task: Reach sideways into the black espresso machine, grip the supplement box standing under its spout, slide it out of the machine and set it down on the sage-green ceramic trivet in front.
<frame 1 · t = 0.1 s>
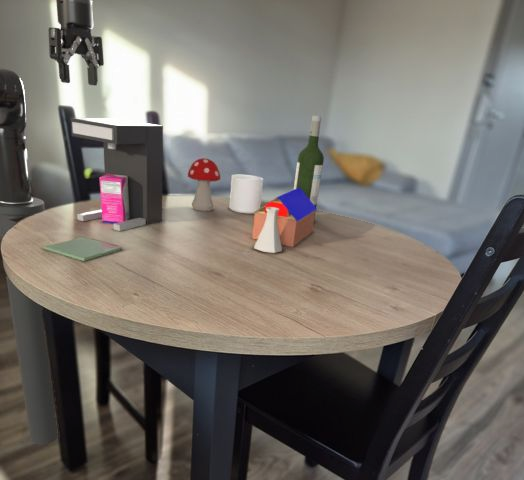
hand: (79, 84, 115), 31 cm above the table, tool pointing down, fingers open, 8 cm apart
espresso machine: (117, 221, 128), on the table
decorative mushroom: (202, 209, 151), on the table
house: (283, 235, 134), on the table
mug: (245, 209, 158), on the table
supplement box: (116, 222, 127), resting in espresso machine
flask: (267, 250, 120), on the table
trivet: (83, 249, 104), on the table
wine bottle: (301, 220, 154), on the table
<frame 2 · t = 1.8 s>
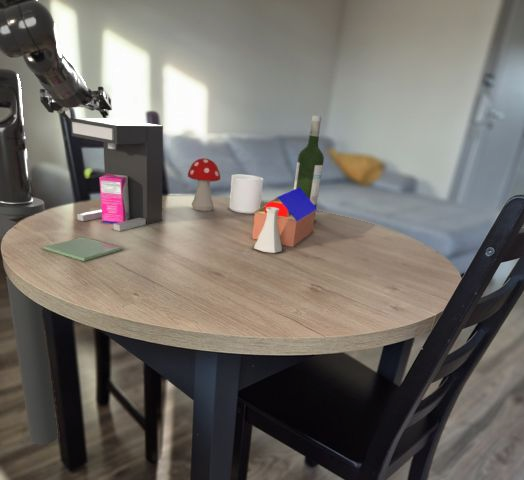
hand: (87, 114, 114), 25 cm above the table, tool tilted 65°, fingers open, 8 cm apart
nothing on the table moved.
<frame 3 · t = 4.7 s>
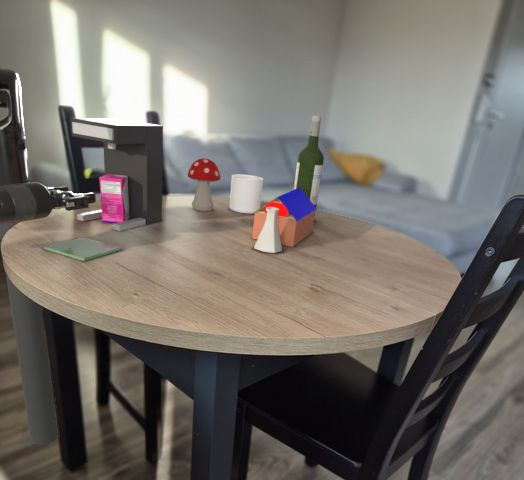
hand: (80, 194, 114), 8 cm above the table, tool horizontal, fingers open, 8 cm apart
nothing on the table moved.
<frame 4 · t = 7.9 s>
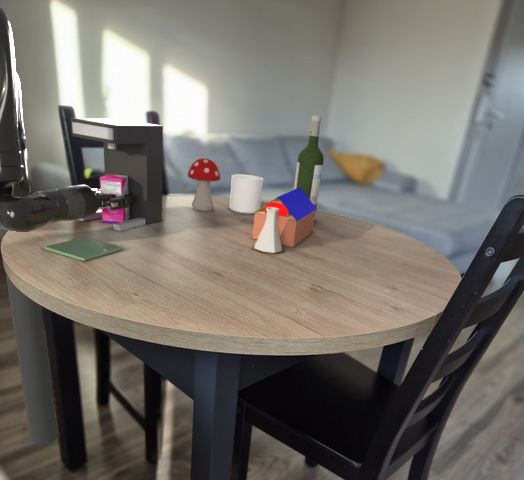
hand: (120, 195, 126), 7 cm above the table, tool horizontal, fingers closed on supplement box, 7 cm apart
supplement box: (116, 222, 127), resting in espresso machine, touching gripper
everything else where it was.
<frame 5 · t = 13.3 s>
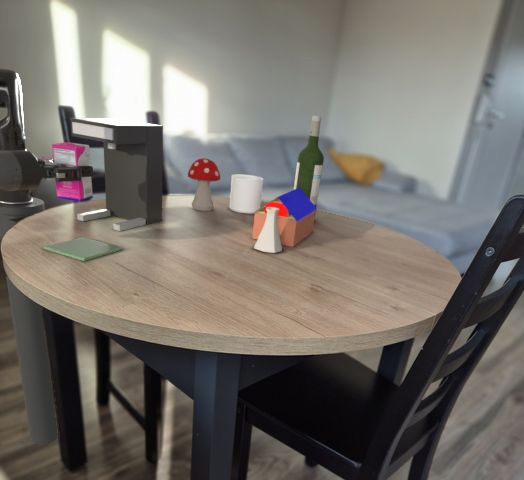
hand: (80, 167, 108), 15 cm above the table, tool horizontal, fingers closed on supplement box, 7 cm apart
supplement box: (74, 199, 109), point 8 cm above the table, touching gripper
everything else where it was.
when the fingers open (7 cm above the table, at t = 18.5 s): supplement box stays where it is, resting on trivet.
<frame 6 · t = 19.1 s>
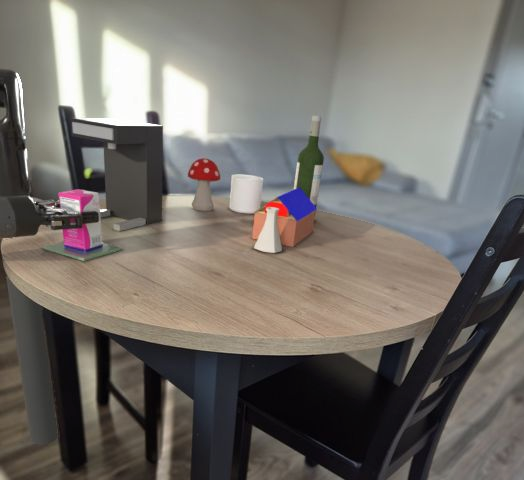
hand: (88, 211, 101), 8 cm above the table, tool horizontal, fingers open, 8 cm apart
supplement box: (83, 247, 104), resting on trivet
everything else where it was.
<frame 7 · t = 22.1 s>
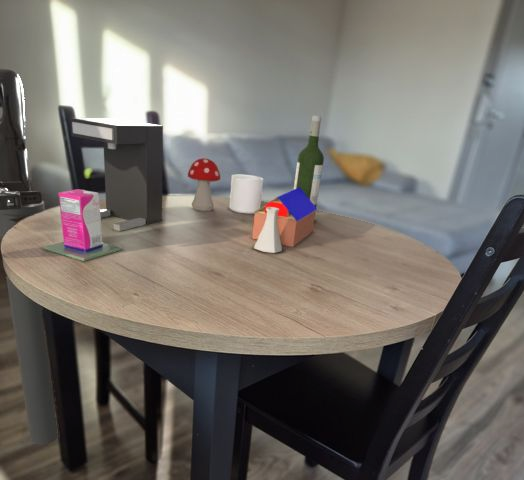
hand: (32, 192, 93), 12 cm above the table, tool horizontal, fingers open, 8 cm apart
nothing on the table moved.
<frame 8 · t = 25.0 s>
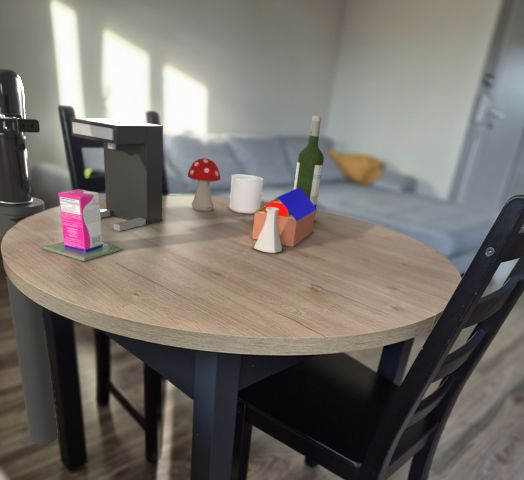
hand: (29, 123, 92), 24 cm above the table, tool horizontal, fingers open, 8 cm apart
nothing on the table moved.
at the end: supplement box 0.1 cm off-centre on the trivet, point 0.4 cm above the trivet's base; supplement box tilted 0°; the gripper is holding nothing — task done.
